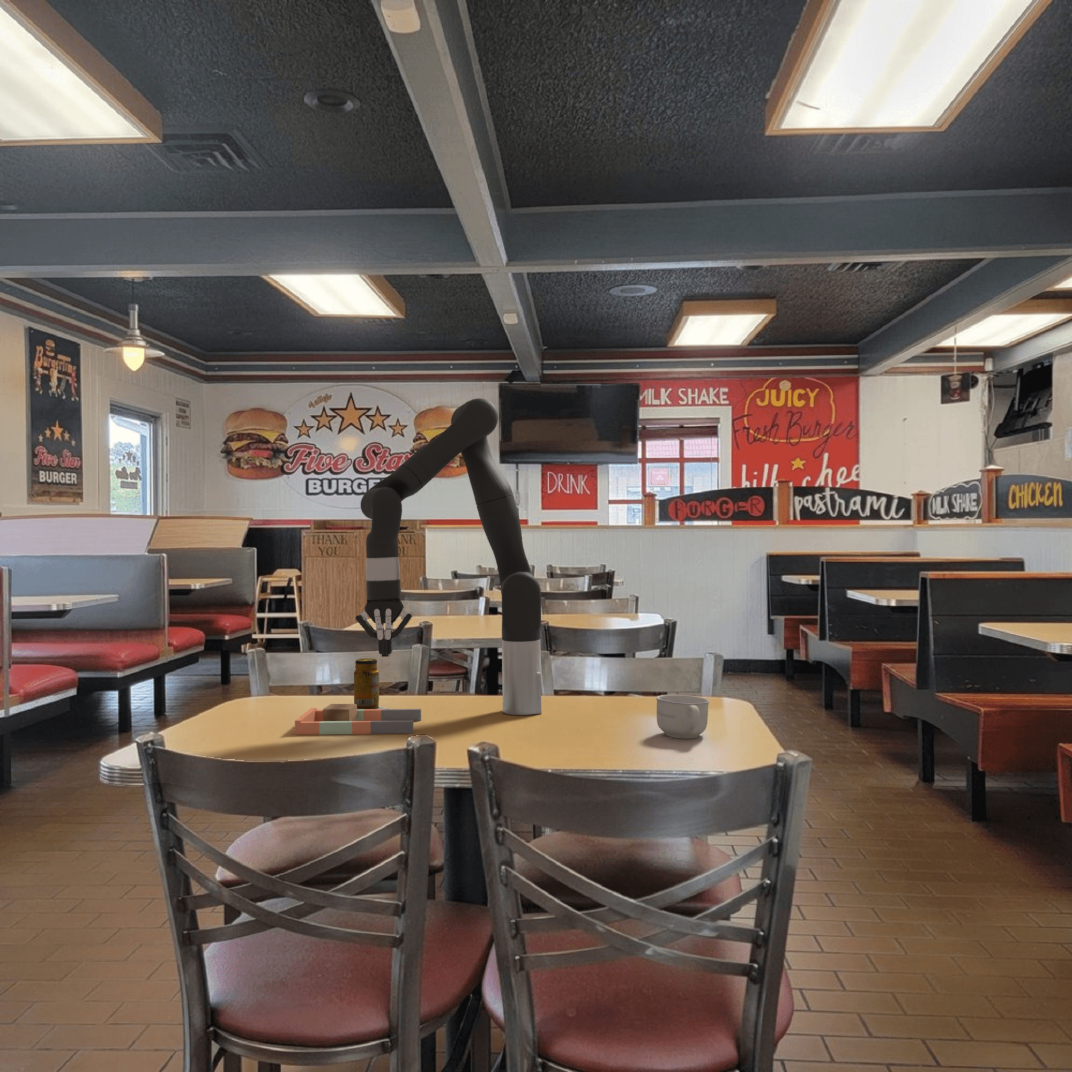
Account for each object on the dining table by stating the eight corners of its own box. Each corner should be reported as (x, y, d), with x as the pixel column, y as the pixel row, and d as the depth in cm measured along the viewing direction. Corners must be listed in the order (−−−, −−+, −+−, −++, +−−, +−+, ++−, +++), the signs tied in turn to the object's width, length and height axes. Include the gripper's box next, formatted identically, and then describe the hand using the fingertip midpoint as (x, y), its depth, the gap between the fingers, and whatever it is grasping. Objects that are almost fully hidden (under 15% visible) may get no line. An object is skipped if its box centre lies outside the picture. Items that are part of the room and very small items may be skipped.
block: (357, 723, 193) (356, 703, 193) (349, 729, 187) (349, 709, 187) (331, 723, 194) (330, 703, 194) (322, 729, 188) (322, 709, 188)
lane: (421, 719, 196) (421, 706, 196) (412, 733, 183) (412, 719, 182) (311, 720, 196) (311, 707, 196) (295, 734, 183) (294, 720, 183)
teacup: (654, 730, 183) (653, 692, 183) (704, 729, 183) (704, 692, 183) (661, 746, 169) (661, 705, 169) (716, 746, 169) (716, 705, 169)
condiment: (372, 704, 215) (372, 656, 215) (389, 709, 208) (388, 660, 208) (346, 708, 210) (345, 659, 210) (362, 713, 204) (362, 663, 204)
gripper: (415, 576, 193) (417, 653, 193) (356, 578, 193) (359, 654, 193) (410, 578, 185) (413, 657, 185) (349, 579, 185) (352, 659, 185)
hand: (385, 656), depth 189 cm, fingers closed
